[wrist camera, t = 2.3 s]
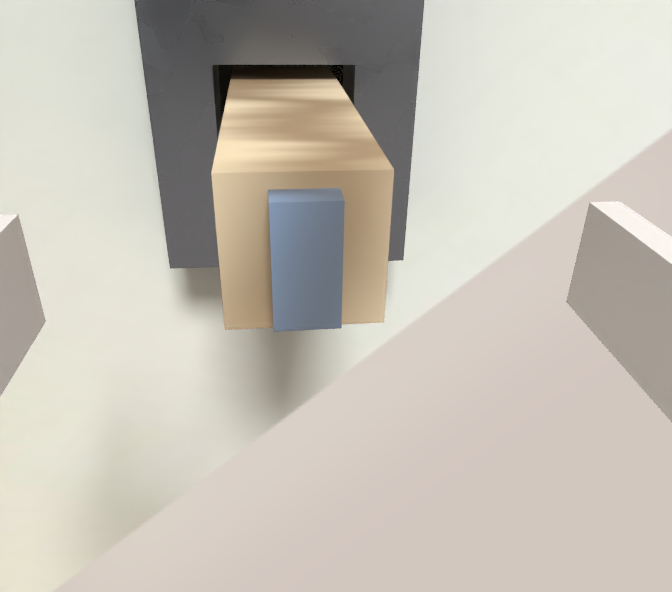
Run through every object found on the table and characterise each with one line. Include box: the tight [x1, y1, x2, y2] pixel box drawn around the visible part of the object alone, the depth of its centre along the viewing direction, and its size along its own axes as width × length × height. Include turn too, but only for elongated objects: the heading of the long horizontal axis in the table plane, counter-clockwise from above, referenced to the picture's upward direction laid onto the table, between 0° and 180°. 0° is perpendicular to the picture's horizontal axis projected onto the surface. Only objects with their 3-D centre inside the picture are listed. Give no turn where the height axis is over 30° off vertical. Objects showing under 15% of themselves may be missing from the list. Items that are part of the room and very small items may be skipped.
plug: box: [211, 66, 394, 331], centre depth 20 cm, size 4×4×15 cm
